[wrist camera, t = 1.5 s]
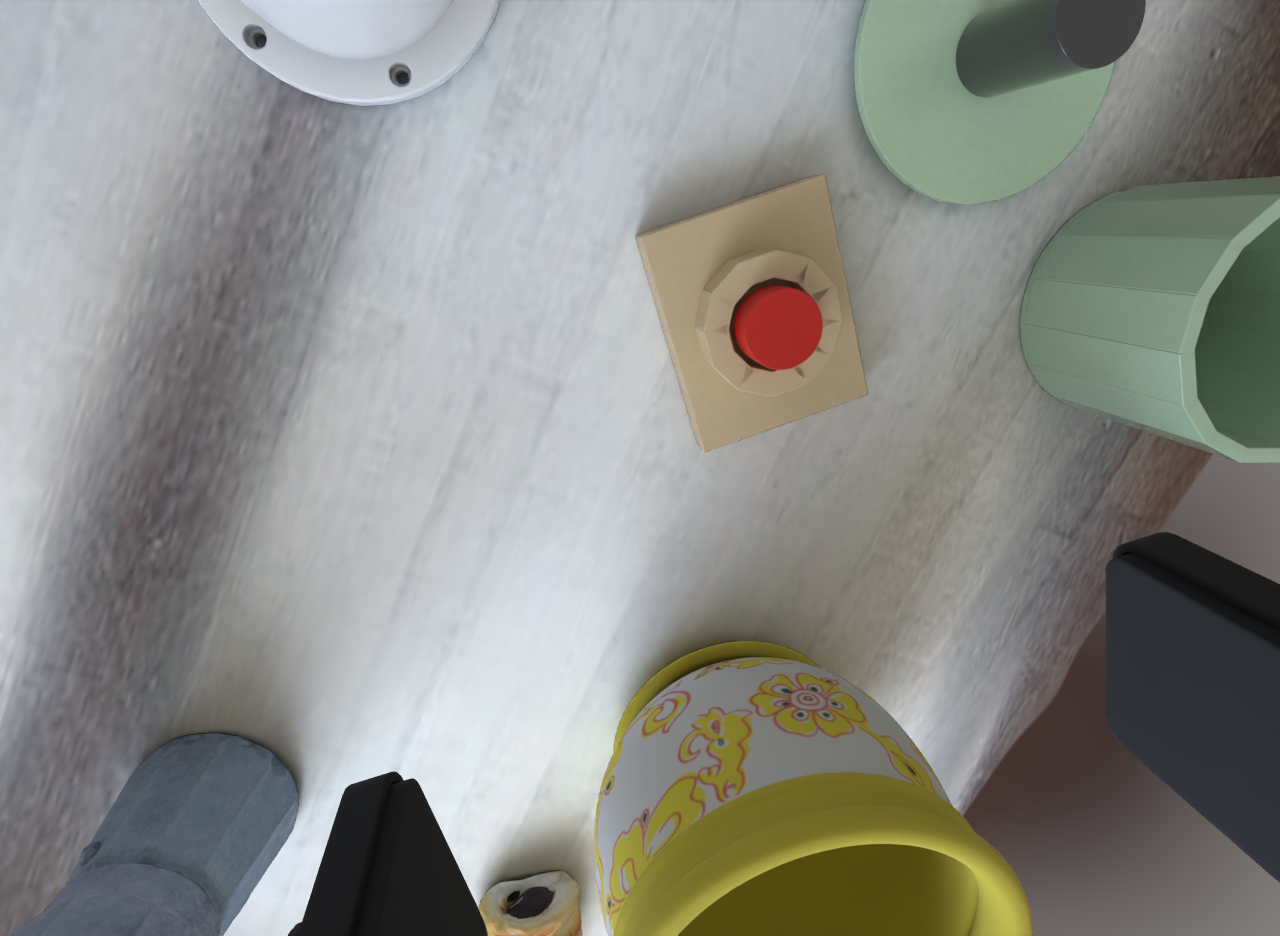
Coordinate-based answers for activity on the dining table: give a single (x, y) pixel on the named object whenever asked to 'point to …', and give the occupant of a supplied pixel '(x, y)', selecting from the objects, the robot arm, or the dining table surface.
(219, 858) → the moka pot
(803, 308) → the button
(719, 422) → the switch block
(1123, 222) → the mint green cup
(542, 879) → the pastry
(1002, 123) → the lid
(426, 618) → the dining table surface
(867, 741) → the flowerpot
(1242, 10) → the dining table surface
